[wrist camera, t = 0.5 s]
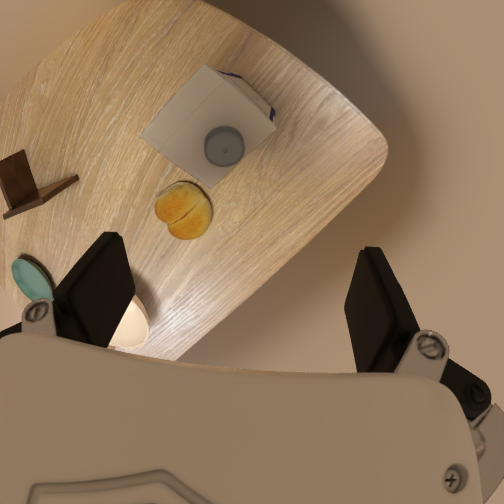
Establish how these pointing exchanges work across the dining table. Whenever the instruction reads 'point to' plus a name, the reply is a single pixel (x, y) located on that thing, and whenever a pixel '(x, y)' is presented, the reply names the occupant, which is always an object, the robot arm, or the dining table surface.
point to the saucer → (31, 279)
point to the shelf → (25, 185)
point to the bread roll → (184, 210)
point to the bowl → (132, 327)
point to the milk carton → (211, 124)
